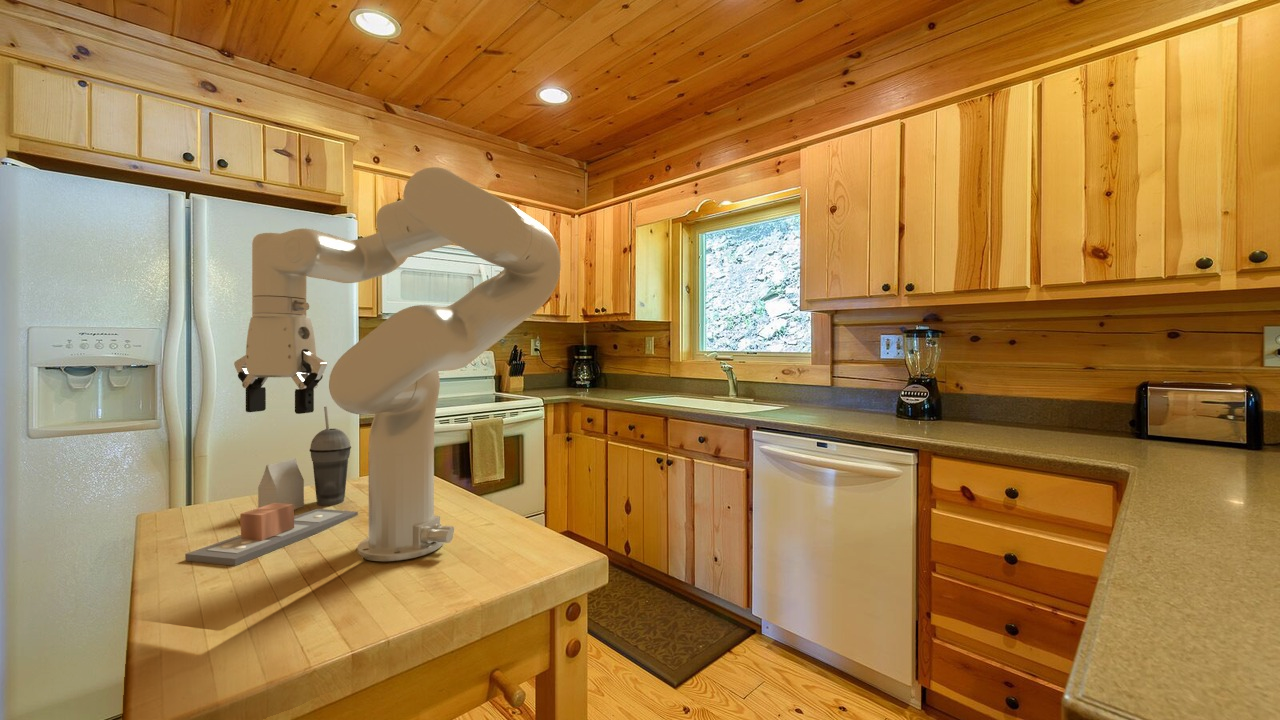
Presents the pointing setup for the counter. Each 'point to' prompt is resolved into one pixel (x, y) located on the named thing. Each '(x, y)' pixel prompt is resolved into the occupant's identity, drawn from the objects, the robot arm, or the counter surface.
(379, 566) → the counter surface
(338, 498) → the beverage cup
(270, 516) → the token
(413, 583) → the counter surface
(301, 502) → the gable top carton
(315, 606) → the counter surface
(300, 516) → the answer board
